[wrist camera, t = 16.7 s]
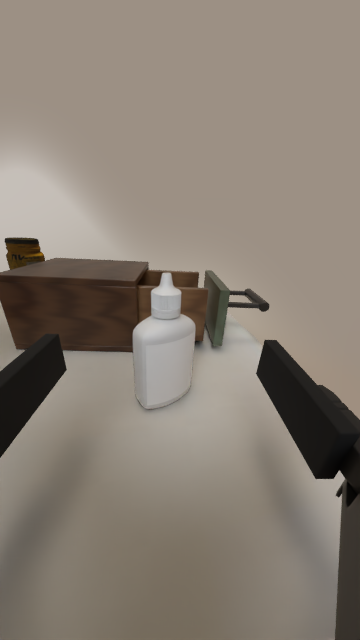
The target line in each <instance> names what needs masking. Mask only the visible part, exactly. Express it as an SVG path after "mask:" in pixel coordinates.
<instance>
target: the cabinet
mask: <svg viewBox="0 0 360 640" xmlns="http://www.w3.org/2000/svg"><path fill="white" fill-rule="evenodd" d="M146 270H149V269H148V262H135V261H113V260H91V259H68V258H54V259H50V260H47V261H43V262H39V263H35V264H31V265H27V266H24V267H20V268H16V269H12V270H8V271H4V272H0V301H1V304H2V307H3V310H4V313H5V316H6V319H7V322H8V325H9V328H10V331H11V334H12V337H13V340H14V343H15V346H16V349H28V348H29V347H30V346H32V345H33V344H34V343H35V342H36V341H38V340H39V339H40V338H41V337H42V336H44V335H45V334H46V333H47V334H59V338H60V342H61V347H62V350H78V351H120V352H133V330H134V328H135V327H136V326H137V325H138V308H137V286H136V285H137V284H138V282H139V281H140V279H141V277H142V276H143V274H144V273H145V271H146Z"/></svg>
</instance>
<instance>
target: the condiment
mask: <svg viewBox="0 0 360 640" xmlns="http://www.w3.org/2000/svg"><path fill="white" fill-rule="evenodd" d="M5 243H6V246H7V247H6V249H7V250H8V253H7V255H6V257H7V261H8V264H9V268H10V270H12V269H16V268H20V267H24V266H27V265H31V264H35V263H39V262H43V261H45V258H44V255H43V253H42V252H40V246H39V242H38V240H37V239H34V238H5Z"/></svg>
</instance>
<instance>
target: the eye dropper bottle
mask: <svg viewBox="0 0 360 640" xmlns="http://www.w3.org/2000/svg"><path fill="white" fill-rule="evenodd" d="M180 311H181V291H180V290H179V289H177V288H175V287H174V286H173V282H172V275H171V273H162V277H161V282H160V285H159V286H158V287H157V288H154V289H153V290H152V291H151V314H152V315H151V316H149V317H148V318H146V319H144V320H143V321H142V322H140V323H139V324H138V325H137V326H136V327H135V328H134V330H133V361H134V380H135V395H136V398H137V399H138V401H139V402H140V404H141V405H142V406H143V407H144V408H145V409H155V408H160V407H163V406H166V405H169V404H171V403H173V402H175V401H177V400H178V399H180V398H181V397H182V396H183V395H185V394H186V392H187V391H188V390H189V388H190V386H191V379H192V368H193V356H194V344H195V330H196V328H195V323H194V322H193V321H192V320H191V319H190V318H189V317H187V316H185V315H183V314H180Z"/></svg>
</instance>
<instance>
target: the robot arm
mask: <svg viewBox="0 0 360 640" xmlns="http://www.w3.org/2000/svg"><path fill="white" fill-rule="evenodd" d="M66 370H67V369H66V365H65V360H64V356H63V351H62V347H61V342H60V338H59V334H47V333H46V334H45V335H44V336H42V337H41V338H40V339H39V340H38V341H36V342H35V343H34V344H33V345H32V346H30V347H29V348H28V349H27V350H26V351H24V352H23V353H22V354H21V355H19V356H18V357H17V358H16V359H15V360H13V361H12V362H11V363H10V364H9V365H7V366H6V367H5V368H4V369H3V370H1V371H0V457H1V456H2V455H3V454H4V452H5V451H6V450H7V448H8V447H9V446H10V444H11V443H12V442H13V440H14V439H15V438H16V436H17V435H18V434H19V432H20V431H21V430H22V428H23V427H24V426H25V424H26V423H27V422H28V420H29V419H30V418H31V416H32V415H33V414H34V412H35V411H36V410H37V408H38V407H39V406H40V404H41V403H42V402H43V400H44V399H45V398H46V396H47V395H48V394H49V392H50V391H51V390H52V388H53V387H54V386H55V384H56V383H57V382H58V380H59V379H60V378H61V376H62V375H63V374H64V372H65V371H66ZM256 374H257V376H258V378H259V379H260V381H261V383H262V385H263V387H264V388H265V390H266V392H267V394H268V395H269V397H270V399H271V401H272V402H273V404H274V406H275V408H276V410H277V411H278V413H279V415H280V417H281V418H282V420H283V422H284V424H285V425H286V427H287V429H288V431H289V433H290V434H291V436H292V438H293V440H294V441H295V443H296V445H297V447H298V448H299V450H300V452H301V454H302V455H303V457H304V459H305V461H306V463H307V464H308V466H309V468H310V470H311V471H312V473H313V475H314V477H315V478H316V479H334V477H335V476H336V474H337V472H338V471H339V470H340V471H341V473H342V474H343V476H344V477H345V480H344V482H343V483H342V485H341V486H340V488H339V490H338V491H337V493H336V496H337V497H340V495H341V494H342V509H341V529H340V549H339V569H338V589H337V609H336V629H335V640H360V420H359V419H358V418H357V417H356V416H355V415H354V414H353V412H352V411H350V410H349V409H348V407H347V406H346V405H345V404H344V403H342V402H341V400H340V399H339V398H338V397H337V396H336V395H335V394H334V393H333V392H332V391H330V390H329V389H327V388H326V387H324V386H323V385H317V384H316V383H315V382H314V381H313V380H312V379H311V378H310V377H309V376H308V375H307V373H306V372H305V371H304V370H303V369H302V368H301V367H300V366H299V365H298V364H297V362H296V361H295V360H294V359H293V358H292V357H291V356H290V355H289V354H288V353H287V352H286V350H285V349H284V348H283V347H282V346H281V345H280V344H279V343H278V342H277V340H265V341H264V345H263V349H262V353H261V357H260V361H259V365H258V369H257V373H256Z"/></svg>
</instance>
